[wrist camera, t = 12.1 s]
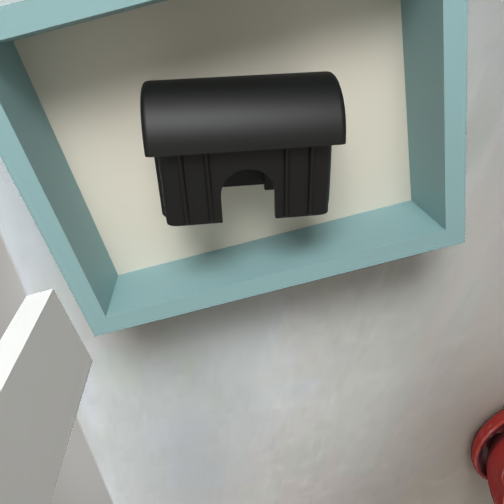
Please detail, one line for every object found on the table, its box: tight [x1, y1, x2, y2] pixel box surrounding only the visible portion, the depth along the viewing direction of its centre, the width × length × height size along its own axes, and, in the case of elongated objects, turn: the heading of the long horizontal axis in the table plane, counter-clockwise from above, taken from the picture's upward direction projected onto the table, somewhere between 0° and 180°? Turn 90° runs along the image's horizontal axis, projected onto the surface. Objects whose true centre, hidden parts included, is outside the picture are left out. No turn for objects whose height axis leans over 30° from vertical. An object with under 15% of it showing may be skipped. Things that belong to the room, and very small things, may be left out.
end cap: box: [140, 71, 346, 226], centre depth 25 cm, size 10×7×7 cm
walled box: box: [0, 0, 468, 336], centre depth 26 cm, size 24×18×6 cm
